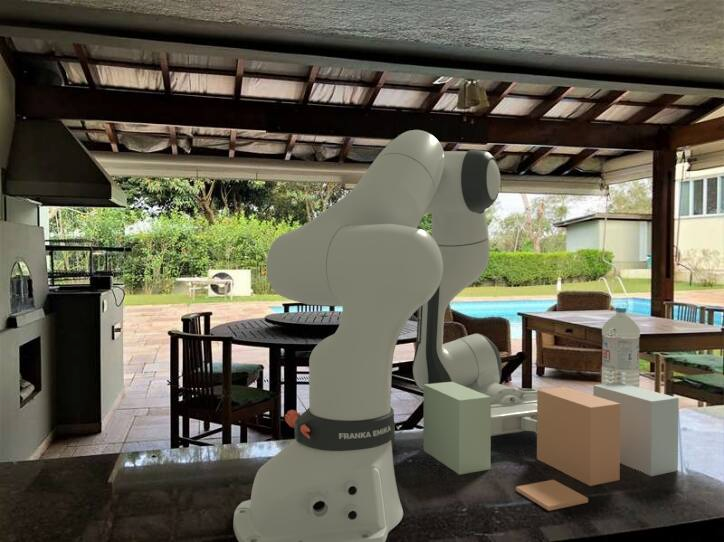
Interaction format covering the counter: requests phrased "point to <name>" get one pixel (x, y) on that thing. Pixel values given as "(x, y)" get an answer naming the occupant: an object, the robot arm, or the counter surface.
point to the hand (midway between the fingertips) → (550, 428)
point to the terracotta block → (579, 434)
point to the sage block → (457, 427)
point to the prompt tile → (551, 495)
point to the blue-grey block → (645, 427)
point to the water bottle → (620, 350)
